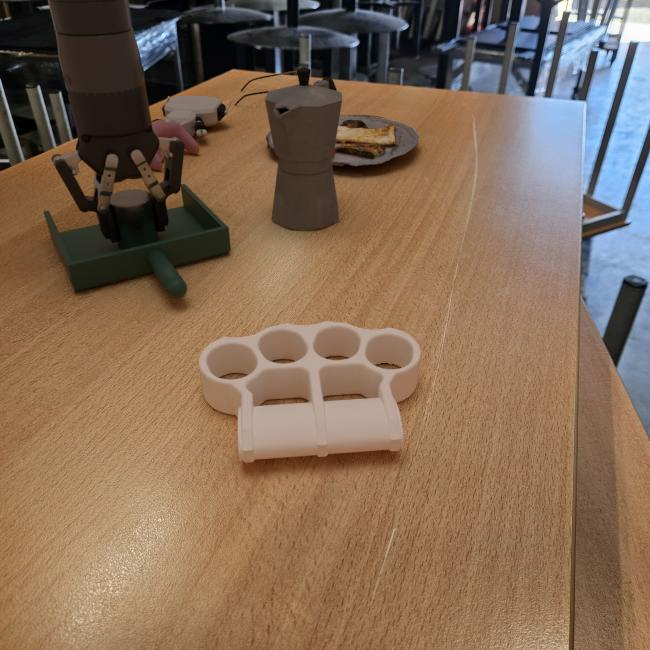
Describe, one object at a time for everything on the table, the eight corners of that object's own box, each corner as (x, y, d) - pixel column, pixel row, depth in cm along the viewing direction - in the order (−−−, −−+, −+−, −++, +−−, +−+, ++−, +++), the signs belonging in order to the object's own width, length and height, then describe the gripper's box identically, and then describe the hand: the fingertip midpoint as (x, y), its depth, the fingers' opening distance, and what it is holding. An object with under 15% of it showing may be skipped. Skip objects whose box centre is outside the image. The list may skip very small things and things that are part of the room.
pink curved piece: (186, 159, 95) (166, 117, 93) (204, 151, 92) (184, 108, 90) (143, 178, 88) (120, 134, 86) (160, 170, 86) (137, 124, 83)
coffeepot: (318, 244, 68) (318, 85, 58) (249, 229, 71) (237, 76, 61) (362, 196, 80) (369, 56, 69) (301, 185, 83) (299, 50, 72)
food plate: (244, 163, 90) (242, 140, 88) (297, 121, 108) (296, 102, 106) (399, 184, 84) (401, 160, 82) (428, 136, 101) (431, 116, 99)
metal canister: (123, 254, 65) (113, 209, 61) (112, 237, 68) (102, 194, 65) (164, 244, 67) (157, 200, 64) (152, 228, 70) (144, 186, 67)
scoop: (51, 237, 69) (43, 211, 67) (188, 208, 76) (184, 183, 74) (94, 335, 53) (85, 304, 51) (261, 287, 60) (259, 257, 58)
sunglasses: (307, 108, 115) (305, 82, 112) (234, 113, 116) (230, 87, 113) (308, 90, 127) (306, 66, 124) (242, 95, 127) (238, 71, 124)
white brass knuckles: (194, 476, 40) (207, 348, 52) (444, 457, 42) (401, 336, 54) (188, 443, 38) (202, 317, 50) (451, 424, 40) (404, 307, 52)
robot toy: (209, 152, 96) (235, 119, 108) (206, 125, 93) (232, 94, 105) (141, 147, 98) (173, 115, 109) (135, 120, 95) (169, 91, 106)
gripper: (163, 65, 62) (184, 209, 72) (22, 80, 56) (66, 235, 66) (187, 79, 57) (206, 233, 67) (33, 98, 51) (80, 263, 61)
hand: (136, 233), depth 67 cm, fingers closed on metal canister, 5 cm apart
